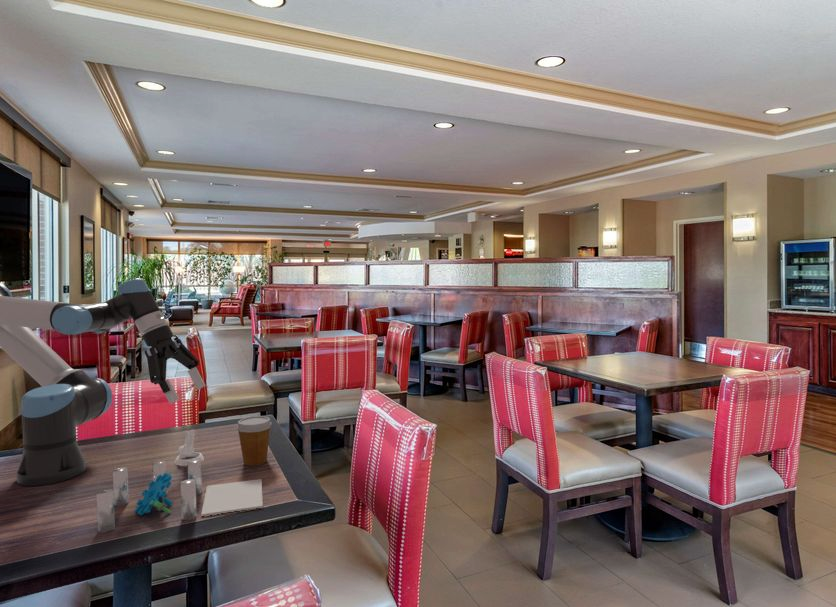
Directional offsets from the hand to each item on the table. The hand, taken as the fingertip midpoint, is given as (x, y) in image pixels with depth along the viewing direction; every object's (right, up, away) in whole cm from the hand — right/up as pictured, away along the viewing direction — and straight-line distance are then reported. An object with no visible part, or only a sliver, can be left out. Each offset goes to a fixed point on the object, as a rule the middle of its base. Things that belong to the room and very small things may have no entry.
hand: (188, 394), depth 150 cm
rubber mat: (+23, -20, -27) cm, 41 cm away
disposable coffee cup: (+21, -19, -4) cm, 28 cm away
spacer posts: (+7, -20, -33) cm, 40 cm away
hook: (+1, -19, -3) cm, 19 cm away
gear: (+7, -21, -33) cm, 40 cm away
